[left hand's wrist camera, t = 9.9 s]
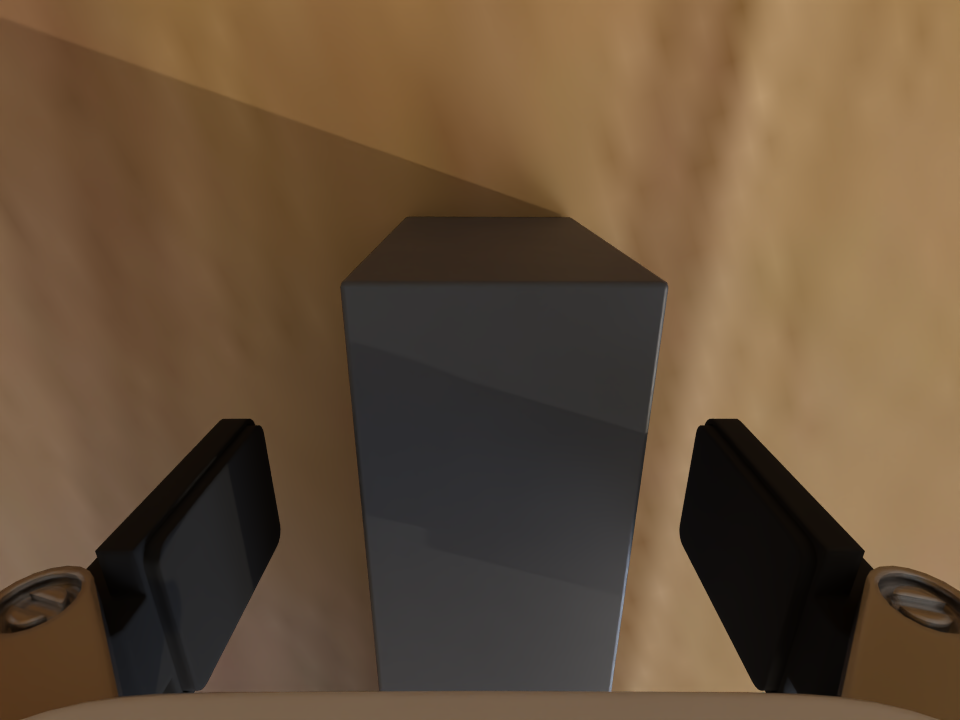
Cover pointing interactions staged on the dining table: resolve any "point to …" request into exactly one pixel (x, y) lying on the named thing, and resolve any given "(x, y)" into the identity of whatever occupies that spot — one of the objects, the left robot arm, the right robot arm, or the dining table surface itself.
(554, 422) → the beam
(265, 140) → the dining table surface
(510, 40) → the dining table surface
